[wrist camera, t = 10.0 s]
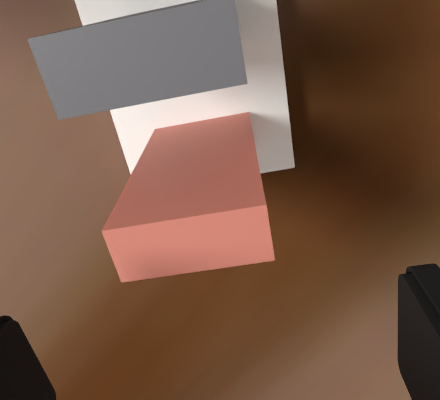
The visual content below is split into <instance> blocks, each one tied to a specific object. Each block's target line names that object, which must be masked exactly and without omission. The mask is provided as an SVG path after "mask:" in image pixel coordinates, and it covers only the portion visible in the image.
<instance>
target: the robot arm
mask: <svg viewBox="0 0 440 400" xmlns="http://www.w3.org/2000/svg"><path fill="white" fill-rule="evenodd" d="M398 365H399V369H400V372H401V375H402V378H403V380H404V382H405V385H406V387H407V389H408V391H409V394H410V396H411V398H412V400H440V268H439V267H438V266H437V265H436V264H426V265H418V266H409V267H407V269H406V274H400V275H399V278H398ZM0 400H56V393H55V390H54V388H53V386H52V385H51V383H50V381H49V379H48V377H47V375H46V373H45V372H44V370H43V368H42V366H41V364H40V362H39V360H38V358H37V357H36V355H35V353H34V351H33V349H32V347H31V345H30V344H29V342H28V340H27V338H26V336H25V334H24V332H23V331H22V329H21V327H20V325H19V323H18V322H16V321H14V320H13V319H12V318H11V317H9V316H0Z"/></svg>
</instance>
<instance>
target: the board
mask: <svg viewBox="0 0 440 400" xmlns="http://www.w3.org/2000/svg"><path fill="white" fill-rule="evenodd" d="M192 1H196V0H75V3H76V6H77V9H78V12H79V16H80V19H81V22H82V25H83V26H84V25H88V24H93V23H97V22H101V21H105V20H109V19H114V18H118V17H122V16H126V15H131V14H136V13H140V12H145V11H150V10H154V9H159V8H164V7H168V6H173V5H178V4H182V3H187V2H192ZM235 5H236V12H237V18H238V25H239V31H240V38H241V44H242V51H243V57H244V64H245V70H246V76H247V83H248V84H244V85H238V86H233V87H228V88H223V89H217V90H212V91H207V92H202V93H196V94H191V95H186V96H181V97H175V98H170V99H165V100H160V101H155V102H149V103H144V104H139V105H134V106H128V107H123V108H118V109H113V110H110V112H111V115H112V118H113V121H114V124H115V127H116V130H117V133H118V136H119V140H120V143H121V146H122V149H123V152H124V155H125V158H126V161H127V164H128V167H129V171H130V174H132V172H133V170H134V168H135V166H136V164H137V162H138V160H139V158H140V156H141V154H142V153H143V151H144V149H145V147H146V145H147V143H148V141H149V139H150V137H151V135H152V133H153V131H154V130H155V129H158V128H164V127H169V126H174V125H180V124H185V123H191V122H196V121H202V120H207V119H213V118H218V117H223V116H229V115H234V114H240V113H245V112H249V115H250V120H251V126H252V131H253V136H254V142H255V147H256V152H257V158H258V163H259V168H260V173H266V172H272V171H278V170H284V169H290V168H295V164H294V155H293V146H292V137H291V128H290V119H289V110H288V101H287V92H286V83H285V74H284V65H283V56H282V47H281V38H280V29H279V20H278V11H277V2H276V0H235Z"/></svg>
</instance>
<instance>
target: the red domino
mask: <svg viewBox="0 0 440 400" xmlns="http://www.w3.org/2000/svg"><path fill="white" fill-rule="evenodd" d="M102 234H103V236H104V239H105V241H106V244H107V246H108V249H109V252H110V254H111V257H112V259H113V262H114V264H115V267H116V270H117V272H118V275H119V277H120V280H121V282H128V281H135V280H142V279H149V278H156V277H163V276H170V275H177V274H184V273H191V272H197V271H204V270H211V269H218V268H225V267H232V266H239V265H246V264H253V263H260V262H267V261H273V260H275V258H274V251H273V245H272V238H271V232H270V225H269V219H268V212H267V206H266V200H265V195H264V190H263V184H262V179H261V174H260V168H259V163H258V158H257V152H256V147H255V142H254V136H253V131H252V126H251V120H250V115H249V112H245V113H240V114H234V115H229V116H223V117H218V118H213V119H207V120H202V121H196V122H191V123H185V124H180V125H174V126H169V127H164V128H158V129H155V130H154V131H153V133H152V135H151V137H150V139H149V141H148V143H147V145H146V147H145V149H144V151H143V153H142V154H141V156H140V158H139V160H138V162H137V164H136V166H135V168H134V170H133V172H132V174H131V176H130V177H129V179H128V181H127V183H126V185H125V187H124V189H123V191H122V193H121V195H120V197H119V199H118V200H117V202H116V204H115V206H114V208H113V210H112V212H111V214H110V216H109V218H108V220H107V222H106V223H105V225H104V227H103V229H102Z"/></svg>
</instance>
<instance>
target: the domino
mask: <svg viewBox="0 0 440 400" xmlns="http://www.w3.org/2000/svg"><path fill="white" fill-rule="evenodd" d="M27 40H28V43H29V45H30V48H31V50H32V53H33V55H34V58H35V61H36V63H37V66H38V68H39V71H40V74H41V76H42V79H43V81H44V84H45V86H46V89H47V92H48V94H49V97H50V99H51V102H52V104H53V107H54V110H55V112H56V115H57V117H58V120H60V119H65V118H71V117H76V116H81V115H86V114H92V113H97V112H102V111H107V110H113V109H118V108H123V107H128V106H134V105H139V104H144V103H149V102H155V101H160V100H165V99H170V98H175V97H181V96H186V95H191V94H196V93H202V92H207V91H212V90H217V89H223V88H228V87H233V86H238V85H244V84H248V83H247V76H246V70H245V64H244V57H243V51H242V44H241V38H240V31H239V25H238V18H237V12H236V5H235V0H196V1H192V2H187V3H182V4H178V5H173V6H168V7H164V8H159V9H154V10H150V11H145V12H140V13H136V14H131V15H126V16H122V17H118V18H114V19H109V20H105V21H101V22H97V23H93V24H88V25H84V26H80V27H76V28H72V29H67V30H63V31H59V32H55V33H50V34H46V35H42V36H38V37H34V38H29V39H27Z"/></svg>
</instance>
